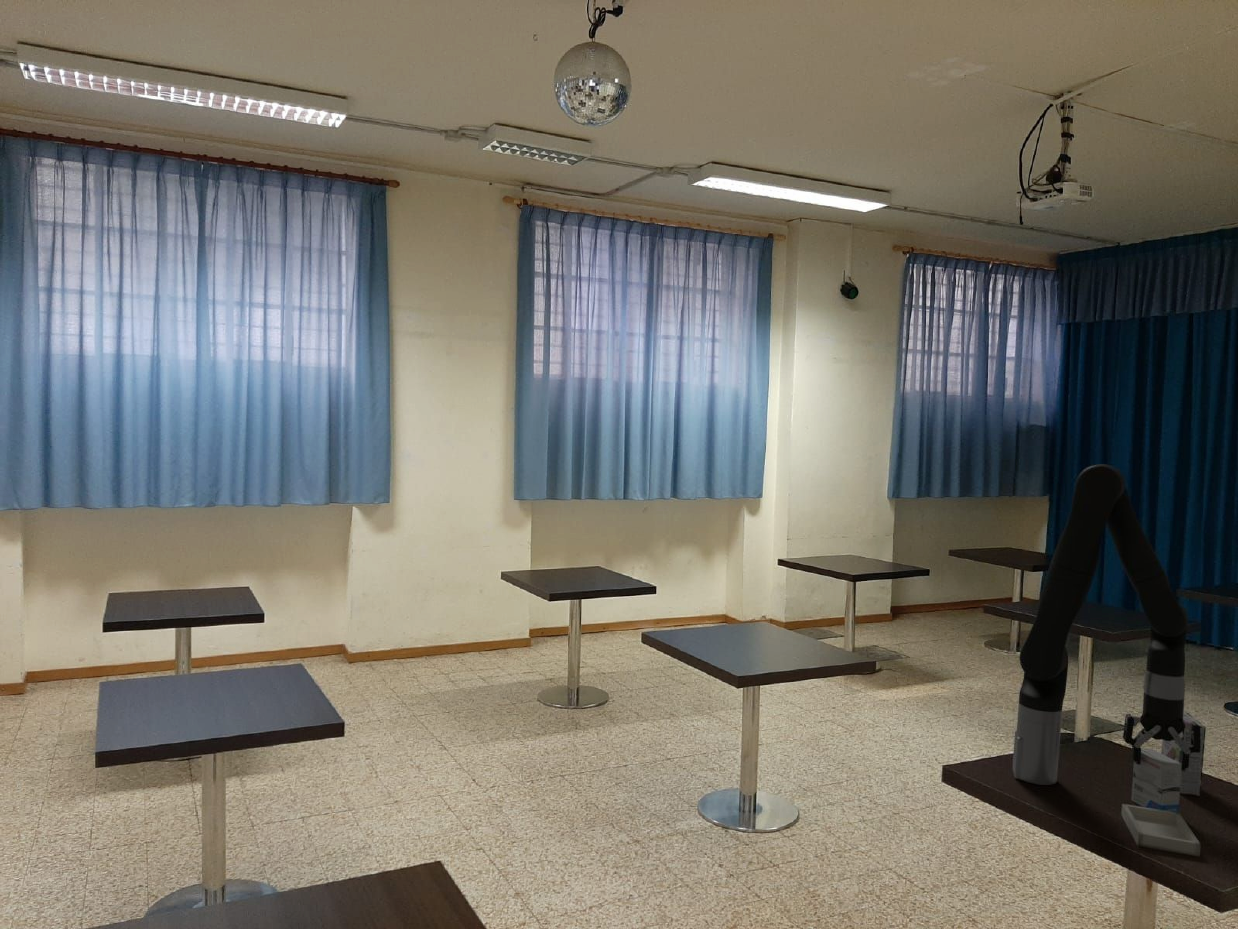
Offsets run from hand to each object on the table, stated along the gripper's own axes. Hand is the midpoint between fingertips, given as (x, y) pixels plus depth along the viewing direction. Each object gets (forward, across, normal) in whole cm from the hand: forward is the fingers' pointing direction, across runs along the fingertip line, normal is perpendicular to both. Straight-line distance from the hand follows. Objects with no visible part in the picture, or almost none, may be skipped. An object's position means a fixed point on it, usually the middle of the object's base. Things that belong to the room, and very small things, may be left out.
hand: (1159, 766), depth 192 cm
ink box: (+10, 0, 0) cm, 10 cm away
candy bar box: (+10, +8, +17) cm, 22 cm away
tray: (+10, -3, -14) cm, 17 cm away
